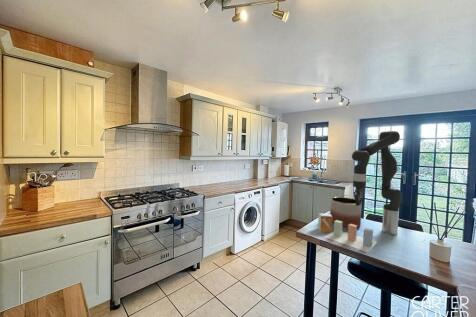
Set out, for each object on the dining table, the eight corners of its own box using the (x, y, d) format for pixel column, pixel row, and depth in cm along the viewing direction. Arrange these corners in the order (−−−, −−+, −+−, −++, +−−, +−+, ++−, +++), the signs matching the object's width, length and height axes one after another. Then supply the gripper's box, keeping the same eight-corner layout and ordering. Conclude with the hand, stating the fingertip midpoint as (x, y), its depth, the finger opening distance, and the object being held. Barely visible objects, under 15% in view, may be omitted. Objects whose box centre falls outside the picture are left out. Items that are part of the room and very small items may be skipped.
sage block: (335, 233, 143) (336, 220, 142) (341, 235, 140) (342, 221, 139) (333, 235, 140) (334, 221, 140) (339, 237, 137) (340, 222, 137)
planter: (367, 228, 157) (368, 203, 156) (343, 231, 151) (345, 204, 150) (345, 218, 178) (346, 196, 177) (324, 220, 173) (325, 197, 172)
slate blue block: (364, 243, 130) (365, 227, 129) (372, 245, 127) (373, 229, 126) (362, 244, 127) (363, 229, 126) (370, 247, 124) (371, 231, 124)
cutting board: (336, 231, 151) (336, 229, 150) (377, 243, 132) (377, 242, 131) (324, 238, 137) (324, 237, 137) (368, 254, 118) (368, 252, 118)
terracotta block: (349, 238, 136) (350, 223, 136) (356, 240, 133) (357, 225, 133) (347, 239, 134) (348, 225, 133) (354, 242, 131) (355, 226, 130)
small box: (320, 233, 146) (321, 215, 145) (317, 229, 152) (318, 212, 152) (331, 234, 145) (332, 216, 145) (328, 230, 152) (329, 213, 151)
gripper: (356, 178, 145) (355, 202, 146) (349, 180, 136) (348, 205, 136) (368, 179, 140) (367, 204, 140) (362, 181, 130) (361, 208, 131)
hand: (358, 205), depth 138 cm, fingers open, 3 cm apart
